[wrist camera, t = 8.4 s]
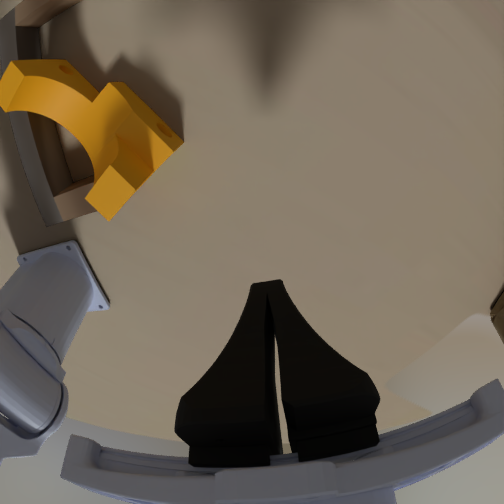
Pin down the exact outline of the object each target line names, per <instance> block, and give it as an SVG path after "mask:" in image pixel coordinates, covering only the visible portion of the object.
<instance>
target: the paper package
mask: <svg viewBox="0 0 504 504" xmlns="http://www.w3.org/2000/svg"><path fill="white" fill-rule="evenodd" d="M490 316H491V321H492V323H493V325H494V327H495V329H496V330H497V332H498V334H499V336H500V338H501V340H502V341H503V343H504V292H503V294H502V295H501V296H500V298H499V299H498V301H497V302H496V304H495V306H494V307H493V309H492V311H491V313H490Z"/></svg>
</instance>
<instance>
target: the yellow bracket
mask: <svg viewBox="0 0 504 504" xmlns="http://www.w3.org/2000/svg"><path fill="white" fill-rule="evenodd" d="M0 106H1V107H2V109H3V110H4V111H5V112H10V111H30V112H34V113H38V114H41V115H44V116H46V117H48V118H51V119H52V120H54V121H56V122H58V123H59V124H61V125H62V126H64V127H65V128H66V129H67V130H69V131H70V132H71V133H72V134H73V135H74V136H75V137H76V138H77V139H78V140H79V141H80V143H81V144H82V145H83V146H84V148H85V150H86V151H87V153H88V155H89V157H90V159H91V161H92V164H93V168H94V184H93V188H92V189H91V190H90V192H89V193H88V195H87V196H86V197H85V199H86V200H87V201H88V202H89V203H90V204H91V205H92V206H93V207H94V208H95V209H96V210H97V211H98V212H99V213H100V214H101V215H102V216H103V217H105V218H106V219H107V220H108V221H110V220H111V219H112V218H113V216H114V215H115V214H116V213H117V212H118V211H119V210H120V208H121V207H122V206H123V205H124V204H125V203H126V202H127V201H128V199H129V198H130V197H131V196H132V195H133V194H134V193H135V192H136V191H137V190H138V189H139V188H140V187H141V185H142V184H143V183H144V182H145V181H146V180H147V179H148V178H149V177H150V176H151V175H152V174H153V173H154V172H155V171H156V170H157V169H158V168H159V167H160V166H161V165H162V164H163V162H164V161H165V160H166V159H167V158H168V157H169V156H170V155H171V154H173V153H174V152H175V151H176V150H177V149H178V148H179V147H180V146H181V145H182V144H183V143H184V141H183V140H182V139H181V138H180V137H179V136H178V135H177V134H176V133H175V132H174V131H173V130H172V129H171V128H170V127H169V126H168V125H167V124H166V123H165V122H164V121H163V120H162V119H161V118H160V117H159V116H158V115H157V114H156V113H155V112H154V111H153V110H152V109H150V108H149V107H148V106H147V105H146V104H145V103H144V102H143V101H142V100H141V99H140V98H139V97H138V96H137V95H136V94H135V93H134V92H133V91H132V90H131V89H130V88H129V87H128V86H127V85H126V84H125V83H124V82H109V83H108V84H107V85H106V86H105V88H104V89H103V90H102V91H101V92H100V93H99V92H98V91H97V90H96V89H95V88H94V87H93V86H92V85H91V84H90V83H89V82H88V81H87V80H86V79H85V78H84V77H83V76H82V75H81V74H80V73H79V72H78V71H77V70H76V69H75V68H74V67H73V66H72V65H71V64H70V63H69V62H68V61H67V60H61V59H35V60H14V61H11V62H10V63H9V65H8V67H7V69H6V71H5V73H4V74H3V76H2V78H1V80H0Z"/></svg>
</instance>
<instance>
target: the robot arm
mask: <svg viewBox="0 0 504 504" xmlns="http://www.w3.org/2000/svg"><path fill="white" fill-rule="evenodd" d="M69 246H70V248H69ZM17 261H18V263H19V265H20V267H19V268H18V269H17V270H16V271H15V273H14V274H13V275H12V276H11V277H10V279H9V280H8V281H7V282H6V283H5V285H4V286H3V287H2V288H1V290H0V412H1V413H2V414H4V415H5V416H6V417H7V418H9V419H7V418H6V417H4V416H2V415H1V414H0V465H1V463H2V461H3V459H5V458H15V457H16V458H17V457H29V456H35V455H37V453H38V451H39V449H40V447H41V446H42V444H43V443H44V442H45V440H46V439H47V438H48V437H49V436H50V435H52V434H53V433H54V432H56V431H57V430H58V428H59V427H60V426H61V424H62V423H63V421H64V419H65V416H66V414H67V409H68V399H69V398H68V390H67V388H66V386H65V384H64V383H63V382H62V381H63V379H64V376H65V374H66V372H65V371H64V370H63V368H62V367H61V364H62V362H63V360H64V357H65V355H66V353H67V351H68V349H69V347H70V345H71V342H72V340H73V338H74V336H75V334H76V332H77V330H78V328H79V326H80V324H81V322H82V320H83V318H84V316H85V315H86V313H87V312H88V311H99V310H108V309H109V307H110V304H109V302H108V300H107V299H106V297H105V295H104V293H103V292H102V290H101V288H100V286H99V284H98V283H97V281H96V279H95V277H94V275H93V273H92V271H91V269H90V268H89V266H88V264H87V262H86V260H85V258H84V256H83V254H82V252H81V250H80V248H79V245H78V244H77V242H76V241H74V240H71V241H67V242H63V243H60V244H56V245H53V246H49V247H45V248H42V249H38V250H35V251H31V252H28V253H25V254H21V255H19V256H18V257H17ZM101 305H102V306H101ZM275 337H276V341H277V346H278V356H279V368H280V382H281V397H282V404H283V408H284V413H285V418H286V422H287V429H288V439H289V442H290V446H291V451H292V453H289V454H283V448H282V439H281V430H280V421H279V412H278V403H277V393H276V384H275ZM379 403H380V396H379V393H378V391H377V389H376V387H375V385H374V383H373V381H372V380H371V378H370V377H369V375H368V374H367V373H366V372H364V371H363V370H361V369H359V368H358V367H356V366H355V365H353V364H352V363H351V362H349V361H348V360H346V359H345V358H344V357H342V356H341V355H340V354H339V353H338V352H336V351H335V350H334V349H333V348H332V347H331V346H329V345H328V344H327V343H326V342H325V341H324V340H323V339H322V338H321V337H320V336H319V335H318V334H317V333H316V332H315V331H314V330H313V328H312V327H311V326H310V325H309V324H308V323H307V321H306V320H305V319H304V317H303V316H302V315H301V313H300V312H299V311H298V309H297V308H296V306H295V305H294V303H293V302H292V300H291V298H290V297H289V295H288V293H287V291H286V289H285V287H284V284H283V281H282V280H280V279H278V280H272V281H266V282H259V283H253V284H252V285H251V287H250V292H249V296H248V299H247V302H246V305H245V307H244V310H243V312H242V315H241V317H240V320H239V322H238V324H237V326H236V328H235V330H234V332H233V334H232V336H231V338H230V339H229V341H228V343H227V344H226V346H225V348H224V349H223V351H222V352H221V354H220V355H219V356H218V358H217V359H216V361H215V362H214V363H213V365H212V366H211V367H210V368H209V369H208V371H207V372H206V373H205V374H204V375H203V376H202V378H201V379H200V380H199V381H198V382H197V383H196V384H195V385H194V386H193V387H192V388H191V389H190V390H189V391H188V392H187V393H185V394H184V395H183V396H182V397H181V399H180V403H179V406H178V409H177V413H176V420H175V428H174V429H175V433H176V434H177V435H178V436H179V437H180V438H181V439H182V440H183V441H184V442H185V443H187V444H188V445H189V446H190V448H189V457H174V456H162V455H153V454H145V453H137V452H131V451H124V450H119V449H113V448H108V447H103V446H101V445H100V444H98V443H97V442H95V441H94V440H91V439H89V438H85V437H81V436H77V435H73V434H72V435H71V436H70V439H69V443H68V447H67V450H66V455H65V458H64V462H63V467H62V471H61V475H60V476H61V478H62V479H64V480H67V481H69V482H71V483H73V484H75V485H78V486H80V487H82V488H84V489H87V490H89V491H92V492H95V493H98V494H101V495H104V496H107V497H111V498H115V499H118V500H121V501H125V502H129V503H133V504H397V503H396V499H395V493H394V491H395V490H398V489H401V488H403V487H406V486H408V485H411V484H414V483H416V482H418V481H421V480H423V479H425V478H428V477H430V476H432V475H434V474H436V473H438V472H440V471H442V470H445V469H446V468H449V467H451V466H452V465H454V464H456V463H458V462H460V461H461V460H464V459H465V458H467V457H469V456H471V455H472V454H474V453H476V452H478V451H479V450H481V449H482V448H484V447H486V446H487V445H489V444H491V443H492V442H493V441H495V440H496V439H497V438H498V437H500V436H501V435H502V434H504V390H503V388H502V386H501V384H500V382H499V380H498V379H495V380H493V381H491V382H490V383H488V384H486V385H484V386H482V387H481V388H479V389H478V390H477V391H475V392H474V393H473V395H472V396H471V397H470V399H469V400H467V401H465V402H463V403H461V404H459V405H456V406H454V407H452V408H450V409H448V410H446V411H443V412H441V413H439V414H436V415H434V416H431V417H429V418H426V419H424V420H421V421H419V422H416V423H413V424H411V425H408V426H405V427H402V428H399V429H396V430H393V431H390V432H387V433H384V434H380V435H378V432H377V428H376V423H377V420H376V416H375V411H376V409H377V407H378V405H379ZM353 460H354V461H353Z"/></svg>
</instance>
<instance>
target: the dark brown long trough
mask: <svg viewBox="0 0 504 504" xmlns="http://www.w3.org/2000/svg"><path fill="white" fill-rule="evenodd" d="M80 1H82V0H23V1H22V2H21V3H19V4H18V5H17V6H16V7H15V8H13V9H12V10H11V11H10V12H9V13H8V14H6V15H5V16H4V17H3V18H2V19H1V20H0V60H1V70H2V76H3V74H4V73H5V71H6V69H7V67H8V65H9V63H10V62H11V61H14V60H35V59H42V58H41V50H40V42H39V32H38V28H39V27H40V26H42V25H43V24H45V23H46V22H48V21H49V20H51V19H52V18H54V17H55V16H57V15H58V14H60V13H61V12H63V11H65V10H66V9H68V8H70V7H71V6H73V5H75V4H77V3H78V2H80ZM9 117H10V121H11V125H12V130H13V133H14V137H15V141H16V145H17V148H18V152H19V155H20V158H21V161H22V165H23V168H24V171H25V174H26V177H27V179H28V182H29V185H30V188H31V190H32V193H33V196H34V198H35V201H36V203H37V206H38V208H39V211H40V213H41V215H42V218H43V220H44V222H45V224H46V227H48V226H51V225H54V224H57V223H60V222H63V221H66V220H70V219H73V218H76V217H79V216H82V215H86V214H89V213H92V212H96V211H97V210H96V209H95V208H94V207H93V206H92V205H91V204H90V203H89V202H88V201H87V200H86V199H85V197H86V196H87V195H88V193H89V192H90V190H91V189H92V188H93V184H94V175H93V176H90V177H87V178H85V179H82V180H79V181H77V182H74V183H73V181H72V178H71V175H70V172H69V169H68V166H67V163H66V160H65V157H64V154H63V151H62V147H61V144H60V140H59V137H58V133H57V130H56V126H55V122H54V120H52V119H51V118H48V117H46V116H44V115H41V114H38V113H34V112H30V111H10V112H9Z"/></svg>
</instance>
